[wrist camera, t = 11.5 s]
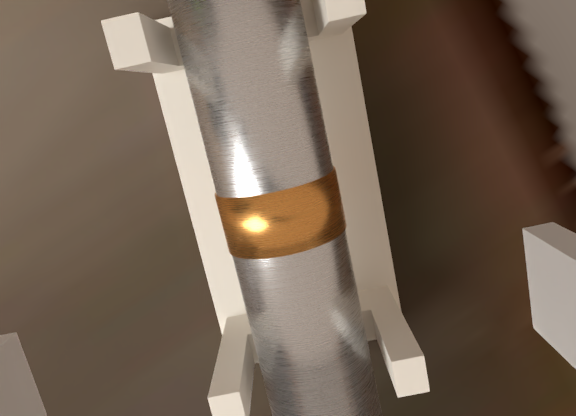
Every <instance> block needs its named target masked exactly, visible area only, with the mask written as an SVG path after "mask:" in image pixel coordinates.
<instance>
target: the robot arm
mask: <svg viewBox="0 0 576 416" xmlns="http://www.w3.org/2000/svg"><path fill="white" fill-rule="evenodd" d="M522 230H523V239H524V248H525V257H526V266H527V275H528V284H529V293H530V303H531V312H532V321H533V328H534V329H535V330H536V331H537V332H538V333H539V334H540V335H541V336H542V337H543V338H544V339H545V340H546V341H547V342H548V343H549V344H550V345H551V346H552V347H553V348H555V349H556V350H557V351H558V352H559V353H560V354H561V355H562V356H563V357H564V358H565V359H566V360H567V361H568V362H569V363H570V364H571V365H572V366H573V367H574V368H575V369H576V234H575V233H573V232H572V231H570V230H568V229H566V228H564V227H562V226H560V225H558V224H556V223H554V222H551V223H546V224H541V225H537V226H532V227H527V228H522ZM0 416H47V414H46V411H45V408H44V406H43V403H42V400H41V398H40V395H39V392H38V390H37V387H36V384H35V381H34V379H33V376H32V373H31V371H30V368H29V365H28V363H27V360H26V357H25V354H24V352H23V349H22V346H21V344H20V341H19V338H18V336H17V333H16V332H15V333H10V334H5V335H0Z"/></svg>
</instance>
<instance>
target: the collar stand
mask: <svg viewBox="0 0 576 416" xmlns="http://www.w3.org/2000/svg"><path fill="white" fill-rule="evenodd" d="M300 1H301V6H302V11H303V16H304V21H305V26H306V31H307V36H308V41H309V47H310V52H311V57H312V62H313V67H314V72H315V77H316V82H317V87H318V92H319V97H320V102H321V108H322V113H323V118H324V123H325V128H326V133H327V138H328V143H329V148H330V153H331V158H332V163H333V166H334V167H335V168H336V173H337V178H338V183H339V189H340V194H341V199H342V204H343V209H344V214H345V219H346V224H347V227H346V235H347V240H348V245H349V250H350V255H351V260H352V265H353V270H354V275H355V280H356V285H357V290H358V295H359V301H360V306H361V311H362V316H363V321H364V326H365V331H366V336H367V341H370V340H375V339H377V342H378V345H379V347H380V350H381V353H382V355H383V358H384V361H385V364H386V366H387V369H388V372H389V375H390V377H391V380H392V383H393V385H394V388H395V391H396V394H397V396H398V397H404V396H409V395H414V394H419V393H424V392H430V389H429V383H428V377H427V371H426V365H425V359H424V355H423V353H422V351H421V349H420V347H419V345H418V343H417V341H416V339H415V337H414V336H413V334H412V332H411V330H410V328H409V326H408V324H407V322H406V320H405V318H404V316H403V314H402V312H401V307H400V301H399V295H398V290H397V284H396V278H395V272H394V267H393V261H392V255H391V250H390V244H389V238H388V232H387V227H386V221H385V215H384V210H383V204H382V198H381V192H380V187H379V181H378V175H377V169H376V164H375V158H374V152H373V147H372V141H371V135H370V129H369V124H368V118H367V112H366V107H365V101H364V95H363V89H362V84H361V78H360V72H359V66H358V61H357V55H356V49H355V44H354V38H353V32H352V25H353V24H355V23H356V22H357V21H358V20H359V19H361V18H362V17H363V16H364V15H365V14H366V13H367V12H366V6H365V0H300ZM101 23H102V27H103V30H104V34H105V37H106V41H107V44H108V48H109V51H110V55H111V58H112V62H113V65H114V69H115V70H124V71H136V72H147V73H153V77H154V81H155V85H156V88H157V92H158V96H159V100H160V103H161V107H162V111H163V115H164V118H165V122H166V126H167V130H168V133H169V137H170V141H171V145H172V148H173V152H174V156H175V160H176V163H177V167H178V171H179V175H180V178H181V182H182V186H183V190H184V193H185V197H186V201H187V205H188V208H189V212H190V216H191V220H192V223H193V227H194V231H195V235H196V238H197V242H198V246H199V250H200V254H201V257H202V261H203V265H204V269H205V272H206V276H207V280H208V284H209V287H210V291H211V295H212V299H213V302H214V306H215V310H216V314H217V317H218V321H219V325H220V329H221V332H222V340H221V344H220V348H219V352H218V357H217V361H216V365H215V369H214V373H213V377H212V381H211V386H210V390H209V394H208V401H209V405H210V409H211V412H212V416H249V415H250V405H251V395H252V385H253V375H254V366H255V363H259V360H258V356H257V352H256V348H255V344H254V340H253V336H252V332H251V329H250V325H249V321H248V317H247V313H246V309H245V305H244V301H243V297H242V293H241V289H240V285H239V281H238V277H237V273H236V269H235V266H234V262H233V258H232V255H231V254H230V253H229V250H228V246H227V242H226V238H225V234H224V230H223V226H222V223H221V219H220V215H219V211H218V207H217V203H216V199H215V192H216V191H215V187H214V183H213V179H212V175H211V171H210V167H209V163H208V159H207V155H206V151H205V147H204V143H203V140H202V136H201V132H200V128H199V124H198V120H197V116H196V112H195V108H194V104H193V100H192V96H191V92H190V88H189V84H188V80H187V77H186V73H185V69H184V65H183V61H182V57H181V53H180V49H179V45H178V41H177V37H176V33H175V29H174V25H173V21H172V17H167V18H162V19H158V20H153V19H151V18H149V17H147V16H145V15H143V14H141V13H139V12H136V13H132V14H128V15H123V16H119V17H114V18H110V19H106V20H101Z"/></svg>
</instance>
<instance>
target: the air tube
mask: <svg viewBox="0 0 576 416" xmlns="http://www.w3.org/2000/svg"><path fill="white" fill-rule="evenodd" d="M167 2H168V6H169V10H170V14H171V17H172V21H173V25H174V29H175V33H176V37H177V41H178V45H179V49H180V53H181V57H182V61H183V65H184V69H185V73H186V77H187V80H188V84H189V88H190V92H191V96H192V100H193V104H194V108H195V112H196V116H197V120H198V124H199V128H200V132H201V136H202V140H203V143H204V147H205V151H206V155H207V159H208V163H209V167H210V171H211V175H212V179H213V183H214V187H215V191H216V192H215V199H216V203H217V207H218V211H219V215H220V219H221V223H222V226H223V230H224V234H225V238H226V242H227V246H228V250H229V253H230V254H231V255H232V258H233V262H234V266H235V269H236V273H237V277H238V281H239V285H240V289H241V293H242V297H243V301H244V305H245V309H246V313H247V317H248V321H249V325H250V329H251V332H252V336H253V340H254V344H255V348H256V352H257V356H258V360H259V364H260V368H261V372H262V376H263V380H264V384H265V388H266V392H267V395H268V399H269V403H270V407H271V411H272V415H273V416H382V412H381V407H380V402H379V397H378V392H377V387H376V382H375V377H374V372H373V367H372V362H371V356H370V351H369V346H368V341H367V336H366V331H365V326H364V321H363V316H362V311H361V306H360V301H359V295H358V290H357V285H356V280H355V275H354V270H353V265H352V260H351V255H350V250H349V245H348V240H347V235H346V227H347V224H346V219H345V214H344V209H343V204H342V199H341V194H340V189H339V183H338V178H337V173H336V168H335V167H334V166H333V163H332V158H331V153H330V148H329V143H328V138H327V133H326V128H325V123H324V118H323V113H322V108H321V102H320V97H319V92H318V87H317V82H316V77H315V72H314V67H313V62H312V57H311V52H310V47H309V41H308V36H307V31H306V26H305V21H304V16H303V11H302V6H301V1H300V0H167Z"/></svg>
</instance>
